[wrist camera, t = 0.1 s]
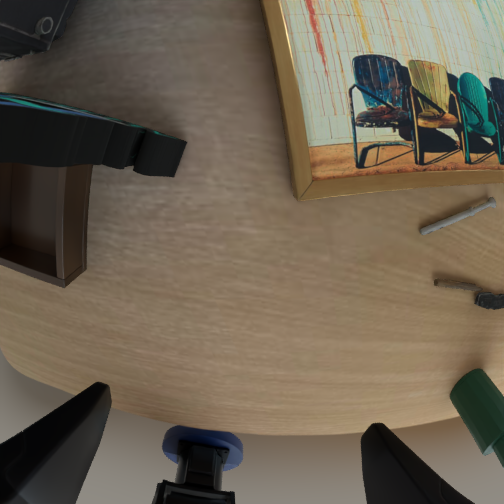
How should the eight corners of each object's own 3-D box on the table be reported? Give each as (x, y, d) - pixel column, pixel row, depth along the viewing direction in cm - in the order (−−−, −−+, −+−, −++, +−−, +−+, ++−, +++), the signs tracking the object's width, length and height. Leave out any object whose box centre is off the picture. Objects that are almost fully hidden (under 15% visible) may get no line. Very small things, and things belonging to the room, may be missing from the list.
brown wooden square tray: (86, 269, 21) (64, 288, 18) (12, 246, 20) (-12, 259, 17) (94, 152, 18) (67, 155, 15) (14, 146, 17) (-14, 149, 14)
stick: (482, 283, 22) (484, 289, 21) (478, 286, 22) (479, 292, 22) (437, 277, 21) (438, 284, 21) (433, 280, 22) (434, 286, 21)
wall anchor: (488, 197, 19) (491, 208, 19) (417, 226, 20) (420, 238, 20) (493, 196, 18) (497, 206, 18) (422, 225, 19) (425, 238, 19)
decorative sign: (188, 142, 18) (34, 135, 4) (175, 176, 19) (17, 248, 5) (9, 93, 16) (-120, 94, 2) (1, 118, 16) (-128, 134, 2)
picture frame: (297, 201, 17) (229, -114, 7) (293, 196, 19) (231, -103, 9) (559, 181, 16) (492, -55, 6) (548, 178, 18) (485, -50, 8)
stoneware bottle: (467, 399, 28) (509, 467, 15) (442, 402, 28) (485, 480, 14) (489, 367, 26) (540, 435, 13) (466, 368, 26) (521, 447, 13)
